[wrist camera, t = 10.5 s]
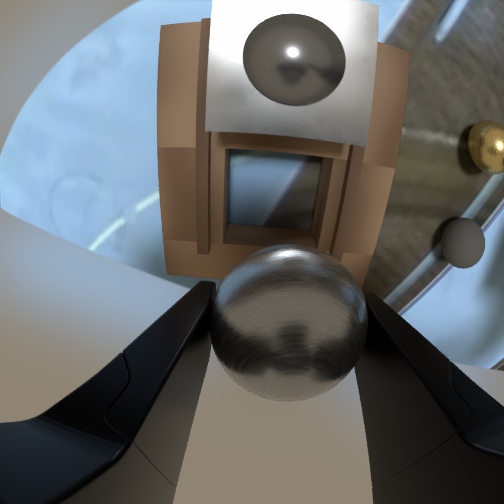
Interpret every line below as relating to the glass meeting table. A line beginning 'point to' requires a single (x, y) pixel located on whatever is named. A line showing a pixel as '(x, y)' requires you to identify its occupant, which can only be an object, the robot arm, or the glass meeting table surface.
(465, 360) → the glass meeting table surface
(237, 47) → the grey sliding block
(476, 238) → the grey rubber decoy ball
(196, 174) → the housing plate
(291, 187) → the glass meeting table surface
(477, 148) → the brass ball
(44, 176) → the glass meeting table surface
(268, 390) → the steel ball
